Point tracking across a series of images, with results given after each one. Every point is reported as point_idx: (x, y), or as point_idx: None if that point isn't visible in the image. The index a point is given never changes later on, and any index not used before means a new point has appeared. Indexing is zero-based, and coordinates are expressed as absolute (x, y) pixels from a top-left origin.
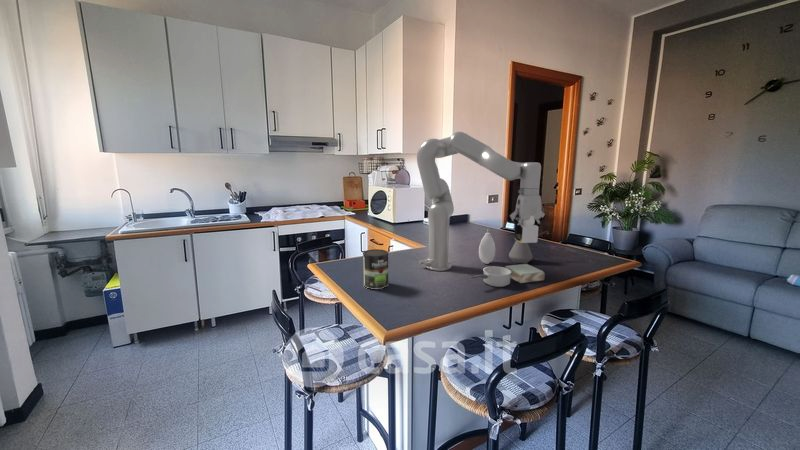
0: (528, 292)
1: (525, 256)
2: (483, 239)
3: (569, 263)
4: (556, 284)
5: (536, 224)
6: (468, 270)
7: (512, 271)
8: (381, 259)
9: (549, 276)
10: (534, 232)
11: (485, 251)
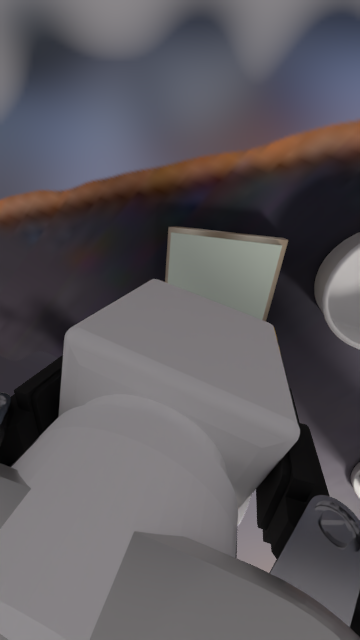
0: (352, 131)
1: None
2: (243, 515)
3: (12, 305)
4: (170, 168)
5: (37, 400)
6: (337, 413)
7: (272, 297)
8: None
9: (135, 247)
10: (150, 316)
11: None
